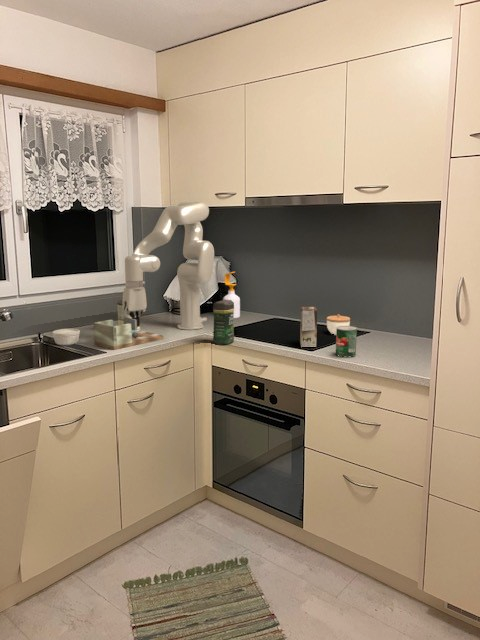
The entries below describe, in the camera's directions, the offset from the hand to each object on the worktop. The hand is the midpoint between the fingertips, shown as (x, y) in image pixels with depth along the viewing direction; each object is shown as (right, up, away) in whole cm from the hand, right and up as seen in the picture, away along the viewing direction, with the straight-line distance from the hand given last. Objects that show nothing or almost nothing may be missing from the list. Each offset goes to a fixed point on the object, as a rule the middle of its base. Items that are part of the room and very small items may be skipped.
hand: (135, 326), depth 235 cm
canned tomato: (+87, -11, -24) cm, 91 cm away
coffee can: (-7, -2, +21) cm, 23 cm away
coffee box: (+74, -8, -8) cm, 75 cm away
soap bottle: (+41, +4, +54) cm, 68 cm away
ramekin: (-29, -7, -3) cm, 30 cm away
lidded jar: (+91, -4, +13) cm, 92 cm away
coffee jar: (+39, -7, -3) cm, 40 cm away
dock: (-2, -7, -1) cm, 7 cm away
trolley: (-5, -5, -5) cm, 8 cm away
